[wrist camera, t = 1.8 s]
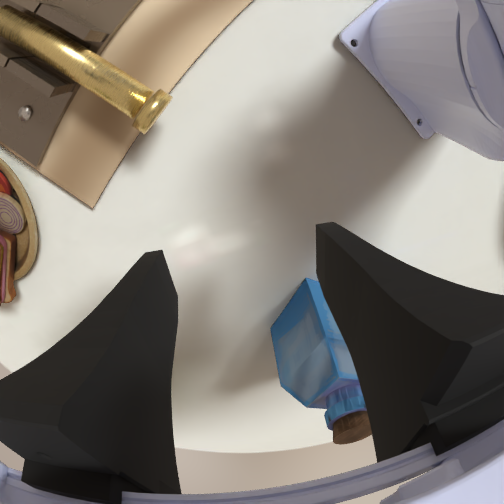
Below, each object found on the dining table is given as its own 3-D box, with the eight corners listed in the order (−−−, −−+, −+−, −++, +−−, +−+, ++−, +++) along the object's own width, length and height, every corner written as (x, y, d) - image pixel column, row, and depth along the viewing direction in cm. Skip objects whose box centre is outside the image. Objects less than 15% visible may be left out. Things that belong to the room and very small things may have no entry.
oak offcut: (263, -9, 13) (264, -11, 13) (95, 204, 20) (92, 208, 19) (61, -102, 6) (58, -104, 5) (-58, 94, 12) (-62, 96, 12)
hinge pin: (175, 95, 15) (168, 99, 13) (150, 129, 16) (140, 138, 14) (20, 2, 10) (-1, -1, 8) (1, 34, 10) (-21, 35, 8)
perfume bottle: (325, 340, 30) (359, 450, 20) (270, 328, 28) (292, 453, 18) (362, 296, 27) (416, 410, 17) (305, 277, 25) (350, 412, 15)
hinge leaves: (177, -36, 11) (168, -56, 8) (41, 163, 17) (14, 183, 14) (50, -86, 6) (27, -100, 3) (-54, 93, 12) (-83, 104, 9)
